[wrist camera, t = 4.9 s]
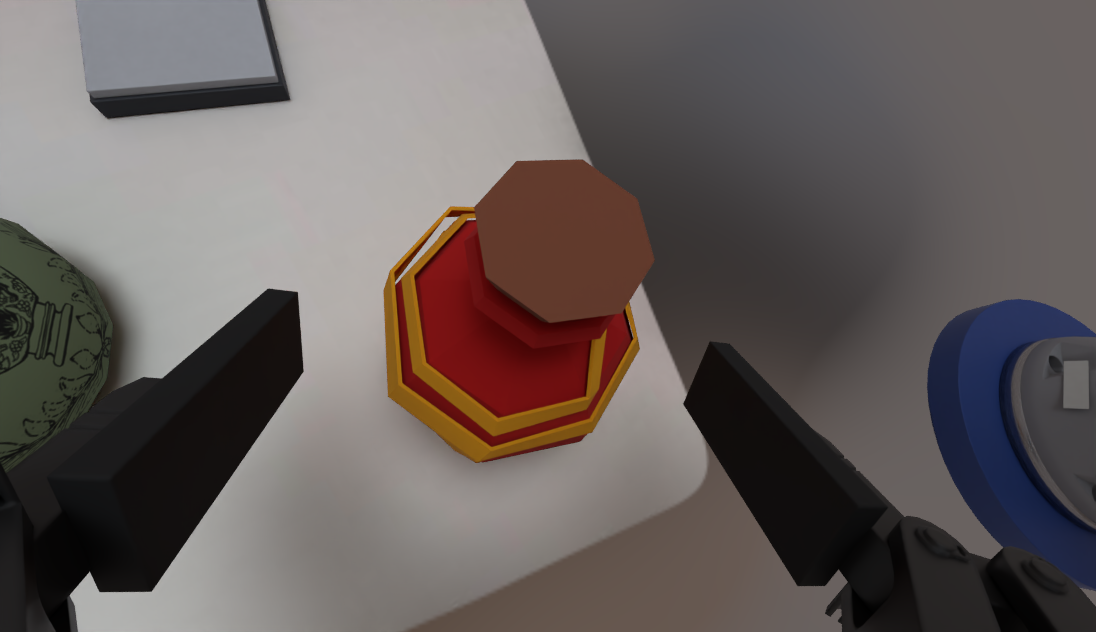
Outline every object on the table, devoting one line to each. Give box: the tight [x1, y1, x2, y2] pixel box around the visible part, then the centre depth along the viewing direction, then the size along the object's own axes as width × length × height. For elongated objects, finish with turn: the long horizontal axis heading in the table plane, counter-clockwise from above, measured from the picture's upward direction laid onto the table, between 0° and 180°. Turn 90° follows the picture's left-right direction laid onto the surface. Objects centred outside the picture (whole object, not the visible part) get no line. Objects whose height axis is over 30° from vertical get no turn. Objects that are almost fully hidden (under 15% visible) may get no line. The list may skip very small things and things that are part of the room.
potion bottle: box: [384, 160, 655, 463], centre depth 16 cm, size 10×10×15 cm
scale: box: [76, 0, 290, 118], centre depth 24 cm, size 9×9×2 cm
